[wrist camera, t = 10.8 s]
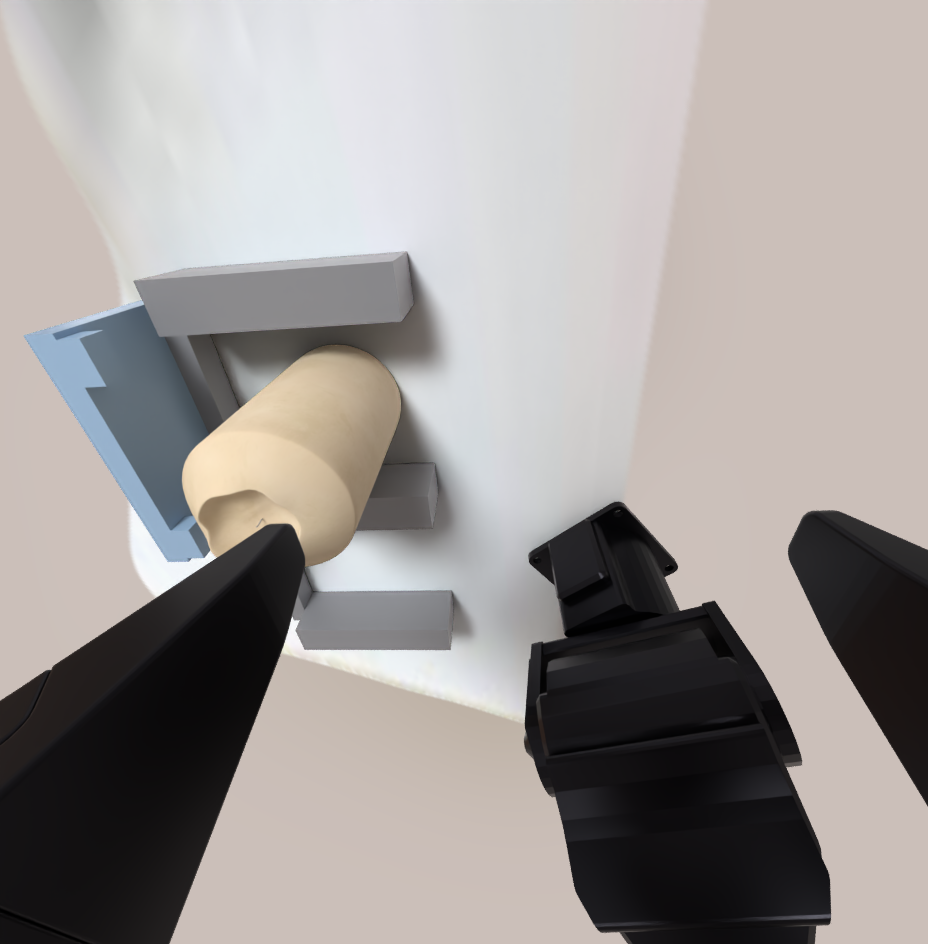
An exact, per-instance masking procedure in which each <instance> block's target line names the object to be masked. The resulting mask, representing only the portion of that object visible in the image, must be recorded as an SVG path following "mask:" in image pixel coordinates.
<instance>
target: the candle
mask: <svg viewBox="0 0 928 944" xmlns="http://www.w3.org/2000/svg"><path fill="white" fill-rule="evenodd" d="M400 414H401V398H400V393H399V390H398V387H397V384H396V382H395V380H394V378H393V377H392V375H391V374H390V372H389V371H388V370H387V368H386V367H385V366H384V365H383V364H382V363H381V362H380V361H379V360H377V359H376V358H375V357H373V356H372V355H370V354H368V353H367V352H365V351H363V350H360V349H358V348H355V347H352V346H347V345H336V344H334V345H326V346H322V347H318V348H316V349H313V350H311V351H309V352H307V353H306V354H304V355H303V356H302V357H300V358H299V359H298V360H296V361H295V362H294V363H293V364H292V365H291V366H289V367H288V368H287V369H286V370H285V371H284V372H282V373H281V374H280V375H279V376H278V377H277V378H275V379H274V380H273V381H272V382H271V383H269V384H268V385H267V386H266V387H265V388H264V389H262V390H261V391H260V392H259V393H258V394H257V395H255V396H254V397H253V398H252V399H251V400H250V401H248V402H247V403H246V404H245V405H244V406H242V407H241V408H240V409H239V410H238V411H237V412H235V413H234V414H233V415H232V416H231V417H230V418H228V419H227V420H226V421H225V422H224V423H223V424H221V425H220V426H219V427H218V428H217V429H216V430H214V431H213V432H212V433H211V434H210V435H208V436H207V437H206V438H205V439H204V440H203V441H201V442H200V443H199V444H198V445H197V446H196V447H195V448H194V449H193V450H192V451H191V453H190V454H189V455H188V457H187V459H186V461H185V464H184V468H183V472H182V484H183V491H184V494H185V498H186V501H187V503H188V506H189V508H190V510H191V512H192V514H193V516H194V518H195V520H196V521H197V523H198V525H199V527H200V528H201V530H202V532H203V533H204V535H205V537H206V539H207V541H208V545H209V548H210V550H211V552H212V553H213V554H214V556H216V557H219V556H220V555H222V554H223V553H225V552H226V551H228V550H229V549H231V548H232V547H234V546H236V545H237V544H239V543H240V542H242V541H243V540H245V539H246V538H248V537H249V536H251V535H252V534H254V533H255V532H257V531H258V530H260V529H261V528H263V527H264V526H266V525H268V524H275V523H288V524H291V525H292V526H293V527H294V529H295V531H296V533H297V536H298V539H299V541H300V544H301V546H302V549H303V552H304V554H305V567H307V566H313V565H317V564H321V563H323V562H326V561H328V560H330V559H332V558H334V557H336V556H337V555H338V554H340V553H341V552H342V551H343V550H344V549H345V548H346V547H347V546H348V545H349V543H350V541H351V540H352V538H353V536H354V533H355V531H356V528H357V526H358V523H359V521H360V518H361V516H362V513H363V511H364V508H365V506H366V503H367V501H368V498H369V496H370V493H371V491H372V488H373V486H374V483H375V481H376V478H377V476H378V473H379V471H380V468H381V466H382V463H383V461H384V458H385V456H386V453H387V451H388V448H389V446H390V443H391V441H392V438H393V436H394V433H395V431H396V428H397V425H398V422H399V419H400Z"/></svg>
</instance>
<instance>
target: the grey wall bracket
mask: <svg viewBox="0 0 928 944" xmlns="http://www.w3.org/2000/svg"><path fill="white" fill-rule="evenodd" d="M134 284H135V286H136V288H137V290H138V292H139V294H140V297H141V299H142V300H140V301H137V302H134V303H130V304H127V305H124V306H120V307H117V308H114V309H110V310H107V311H104V312H100V313H97V314H94V315H90V316H87V317H84V318H80V319H77V320H74V321H70V322H67V323H64V324H60V325H57V326H54V327H50V328H47V329H44V330H40V331H37V332H34V333H30V334H27V335H24V337H25V339H26V340H27V342H28V344H29V345H30V347H31V348H32V350H33V351H34V353H35V355H36V356H37V358H38V359H39V361H40V362H41V364H42V365H43V367H44V369H45V370H46V372H47V373H48V375H49V376H50V378H51V380H52V381H53V383H54V384H55V386H56V387H57V389H58V391H59V392H60V394H61V395H62V397H63V398H64V400H65V401H66V403H67V405H68V406H69V408H70V409H71V411H72V412H73V414H74V416H75V417H76V419H77V420H78V422H79V423H80V425H81V427H82V428H83V430H84V431H85V433H86V434H87V436H88V438H89V439H90V441H91V442H92V444H93V445H94V447H95V448H96V450H97V452H98V453H99V455H100V456H101V458H102V459H103V461H104V463H105V464H106V466H107V467H108V469H109V470H110V472H111V473H112V475H113V477H114V478H115V480H116V481H117V483H118V484H119V486H120V488H121V489H122V491H123V492H124V494H125V496H126V497H127V499H128V500H129V502H130V503H131V505H132V506H133V508H134V510H135V511H136V513H137V514H138V516H139V517H140V519H141V521H142V522H143V524H144V525H145V527H146V528H147V530H148V531H149V533H150V535H151V536H152V538H153V539H154V541H155V542H156V544H157V546H158V547H159V549H160V550H161V552H162V553H163V555H164V557H165V558H166V560H167V561H168V562H189V561H190V560H191V558H204V557H205V556H206V555H207V554H208V552H209V551H210V548H209V545H208V541H207V539H206V537H205V535H204V533H203V532H202V530H201V528H200V527H199V525H198V523H197V521H196V520H195V518H194V516H193V514H192V512H191V510H190V508H189V506H188V503H187V501H186V498H185V494H184V491H183V484H182V472H183V468H184V464H185V461H186V459H187V457H188V455H189V454H190V453H191V451H192V450H193V449H194V448H195V447H196V446H197V445H198V444H199V443H200V442H201V441H203V440H204V439H205V438H206V437H207V436H208V435H210V434H211V433H212V432H213V431H214V430H216V429H217V428H218V427H219V426H220V425H221V424H223V423H224V422H225V421H226V420H227V419H228V418H230V417H231V416H232V415H233V414H234V413H235V412H237V411H238V410H239V409H240V408H239V406H238V403H237V401H236V398H235V396H234V393H233V391H232V388H231V386H230V383H229V381H228V378H227V376H226V373H225V371H224V368H223V366H222V363H221V361H220V358H219V356H218V353H217V351H216V348H215V346H214V343H213V341H212V338H211V336H210V334H216V333H232V332H247V331H263V330H279V329H295V328H310V327H326V326H342V325H358V324H374V323H389V322H402V320H403V319H404V318H405V316H406V315H407V313H408V312H409V310H410V309H411V307H412V306H413V305H414V302H413V294H412V286H411V279H410V271H409V263H408V256H407V252H395V253H382V254H369V255H356V256H343V257H330V258H317V259H304V260H291V261H278V262H265V263H252V264H239V265H227V266H214V267H201V268H188V269H181V270H177V271H173V272H168V273H164V274H160V275H156V276H152V277H147V278H143V279H139V280H135V281H134ZM438 494H439V492H438V485H437V477H436V470H435V463H413V464H385V465H382V466H381V468H380V471H379V473H378V476H377V478H376V481H375V483H374V486H373V488H372V491H371V493H370V496H369V498H368V501H367V503H366V506H365V508H364V511H363V513H362V516H361V518H360V521H359V523H358V526H357V528H356V530H401V529H433V523H434V517H435V511H436V505H437V499H438ZM453 616H454V607H453V599H452V592H451V591H372V592H312V589H311V587H310V584H309V582H308V579H307V577H306V574H305V572H304V573H303V577H302V581H301V584H300V588H299V592H298V596H297V599H296V603H295V607H294V611H293V614H292V617H293V619H294V620H300V621H299V624H298V626H297V628H296V632H297V634H298V637H299V639H300V641H301V643H302V645H303V647H304V649H305V650H451V639H452V627H453Z"/></svg>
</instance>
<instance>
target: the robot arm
mask: <svg viewBox="0 0 928 944" xmlns="http://www.w3.org/2000/svg"><path fill="white" fill-rule="evenodd" d="M616 510H620V511H619V512H615V511H616ZM528 556H529V563H530V564H531V565H532V566H533V567H534V568H535V569H536V570H538V571H539V572H540V573H541V574H542V575H543V576H545V577H546V578H547V579H548V580H549V581H550V582H551V583H553V584H554V585H555V588H556V594H557V598H558V600H559V606H560V612H561V617H562V623H563V629H564V634H565V636H566V638H563V639H559V640H555V641H551V642H547V643H543V642H538V643H534V644H532V646H531V659H529V670H528V685H527V699H526V713H525V730H526V733H525V737H524V745H525V749H526V752H527V753H528V754H529V755H530V756H531V757H532V758H533V759H534V761H535V765H536V768H537V771H538V774H539V777H540V780H541V782H542V784H543V786H544V788H545V790H546V792H547V793H548V794H549V795H550V796H551V797H556V801H557V804H558V808H559V812H560V816H561V820H562V824H563V829H564V834H565V839H566V844H567V849H568V855H569V861H570V866H571V872H572V877H573V883H574V887H575V891H576V893H577V895H578V897H579V899H580V901H581V902H582V904H583V906H584V908H585V909H586V911H587V913H588V915H589V917H590V918H591V920H592V922H593V924H594V925H595V927H596V928H597V929H598V930H599V931H600V932H602V933H607V932H608V933H609V932H620V933H621V934H622V936H623V938H624V939H625V940H626V942H627V943H628V944H815V934H816V926H817V925H818V926H819V925H829V924H830V921H831V897H830V878H829V873H828V870H827V868H826V866H825V864H824V862H823V860H822V856H821V848H820V845H819V842H818V839H817V837H816V835H815V832H814V830H813V828H812V826H811V823H810V821H809V819H808V816H807V814H806V812H805V809H804V807H803V805H802V803H801V800H800V798H799V796H798V794H797V791H796V789H795V787H794V784H793V782H792V780H791V778H790V775H789V773H788V771H787V768H786V767H792V766H800V765H802V758H801V754H800V751H799V748H798V745H797V742H796V739H795V737H794V734H793V732H792V729H791V727H790V725H789V722H788V720H787V718H786V715H785V714H784V711H783V709H782V707H781V705H780V703H779V701H778V699H777V697H776V695H775V693H774V691H773V689H772V687H771V686H770V684H769V682H768V680H767V679H766V677H765V675H764V673H763V672H762V670H761V668H760V667H759V665H758V664H757V662H756V661H755V659H754V658H753V656H752V655H751V653H750V652H749V650H748V649H747V648H746V646H745V644H744V643H743V642H742V640H741V639H740V637H739V636H738V634H737V633H736V631H735V630H734V628H733V627H732V625H731V624H730V622H729V621H728V620H727V618H726V617H725V615H724V614H723V612H722V611H721V609H720V608H719V606H718V605H717V603H716V602H715V601H712V602H707V603H703V604H702V606H699V607H695V608H691V609H687V610H682V611H680V610H679V608H678V606H677V604H676V601H675V599H674V597H673V595H672V593H671V591H670V589H669V586H668V584H667V582H666V580H665V577H666V576H668V575H670V574H672V573H674V572H675V571H676V570H677V569H678V565H677V563H676V561H675V559H674V558H673V557H672V556H671V555H670V554H669V553H668V552H667V551H666V549H665V548H664V547H663V546H662V545H661V544H660V543H659V542H658V541H657V540H656V538H655V537H654V536H653V535H652V534H651V533H650V532H649V531H648V530H647V528H645V526H644V525H643V524H642V523H641V522H640V521H639V520H638V519H637V517H636V516H635V515H634V514H633V513H632V512H631V511H630V510H629V509H628V508H627V506H626V505H625V504H624V503H622V502H614V503H611V504H610V505H608V506H606V507H605V508H603V509H601V510H600V511H598V512H596V513H595V514H593V515H591V516H590V517H588V518H586V519H585V520H583V521H581V522H580V523H578V524H576V525H574V526H573V527H571V528H569V529H568V530H566V531H564V532H563V533H561V534H559V535H558V536H556V537H554V538H553V539H551V540H549V541H548V542H546V543H544V544H543V545H541V546H539V547H538V548H536V549H534V550H533V551H531V552H530V553H529V555H528ZM788 556H789V560H790V563H791V565H792V567H793V569H794V571H795V573H796V575H797V577H798V580H799V581H800V584H801V586H802V588H803V590H804V592H805V594H806V596H807V598H808V600H809V602H810V605H811V607H812V609H813V611H814V613H815V615H816V617H817V619H818V621H819V623H820V625H821V628H822V630H823V632H824V634H825V636H826V637H827V640H828V641H829V644H830V645H831V647H832V649H833V650H834V652H835V654H836V656H837V657H838V659H839V661H840V662H841V664H842V666H843V667H844V669H845V671H846V672H847V674H848V676H849V677H850V679H851V681H852V682H853V684H854V686H855V687H856V689H857V690H858V692H859V694H860V695H861V697H862V699H863V700H864V702H865V704H866V705H867V707H868V709H869V710H870V712H871V714H872V715H873V717H874V718H875V720H876V722H877V723H878V725H879V727H880V728H881V730H882V732H883V733H884V735H885V736H886V738H887V740H888V742H889V743H890V745H891V747H892V748H893V750H894V751H895V753H896V755H897V756H898V758H899V759H900V761H901V763H902V765H903V766H904V768H905V769H906V771H907V773H908V774H909V776H910V778H911V779H912V781H913V783H914V784H915V786H916V788H917V789H918V791H919V793H920V794H921V796H922V797H923V799H924V801H925V802H926V804H927V806H928V550H927V549H924V548H922V547H920V546H917V545H915V544H913V543H911V542H908V541H906V540H904V539H902V538H899V537H897V536H895V535H892V534H890V533H888V532H886V531H883V530H881V529H879V528H876V527H874V526H872V525H869V524H867V523H865V522H863V521H860V520H858V519H856V518H853V517H851V516H849V515H847V514H844V513H842V512H839V511H833V510H831V511H830V510H828V511H811V512H808V513H806V514H805V515H804V516H803V518H802V519H801V521H800V524H799V526H798V528H797V530H796V532H795V534H794V536H793V538H792V540H791V543H790V544H789V548H788ZM535 558H538V559H535ZM668 565H669V566H668ZM304 569H305V554H304V552H303V549H302V546H301V544H300V541H299V539H298V536H297V533H296V531H295V529H294V527H293V526H292V525H291V524H288V523H275V524H268V525H266V526H264V527H263V528H261V529H260V530H258V531H257V532H255V533H254V534H252V535H251V536H249V537H248V538H246V539H245V540H243V541H242V542H240V543H239V544H237V545H236V546H234V547H232V548H231V549H229V550H228V551H226V552H225V553H223V554H222V555H220V556H219V557H217V558H216V559H214V560H213V561H211V562H210V563H208V564H207V565H205V566H204V567H202V568H201V569H199V570H198V571H196V572H195V573H193V574H192V575H190V576H189V577H187V578H186V579H184V580H183V581H181V582H180V583H178V584H176V585H175V586H173V587H172V588H170V589H169V590H167V591H166V592H164V593H163V594H161V595H160V596H158V597H157V598H155V599H154V600H152V601H151V602H149V603H148V604H146V605H145V606H143V607H142V608H140V609H139V610H137V611H136V612H134V613H133V614H131V615H130V616H128V617H127V618H125V619H123V620H122V621H120V622H119V623H117V624H116V625H115V626H113V627H111V628H110V629H108V630H107V631H106V632H104V633H102V634H101V635H99V636H98V637H96V638H95V639H93V640H92V641H90V642H89V643H87V644H86V645H84V646H83V647H81V648H80V649H78V650H77V651H75V652H74V653H72V654H71V655H69V656H68V657H66V658H65V659H63V660H61V661H60V662H58V663H57V664H55V665H54V666H53V667H52V670H46V671H45V672H43V673H42V674H40V675H39V676H37V677H36V678H34V679H33V680H31V681H30V682H28V683H27V684H25V685H24V686H22V687H21V688H19V689H18V690H16V691H15V692H13V693H12V694H10V695H8V696H7V697H5V698H4V699H2V700H1V701H0V944H169V943H170V941H171V938H172V936H173V933H174V930H175V928H176V925H177V923H178V920H179V917H180V914H181V912H182V910H183V907H184V904H185V901H186V899H187V897H188V894H189V891H190V889H191V886H192V884H193V881H194V878H195V876H196V873H197V870H198V868H199V865H200V862H201V860H202V857H203V855H204V852H205V850H206V847H207V844H208V842H209V839H210V837H211V834H212V831H213V829H214V826H215V824H216V821H217V818H218V816H219V813H220V810H221V808H222V805H223V803H224V800H225V797H226V795H227V792H228V790H229V787H230V784H231V782H232V779H233V777H234V774H235V772H236V769H237V766H238V764H239V761H240V758H241V756H242V753H243V751H244V748H245V745H246V742H247V740H248V738H249V735H250V732H251V730H252V727H253V725H254V722H255V719H256V717H257V714H258V711H259V709H260V706H261V704H262V701H263V699H264V696H265V693H266V691H267V688H268V685H269V683H270V680H271V677H272V675H273V673H274V670H275V667H276V665H277V662H278V659H279V657H280V654H281V651H282V649H283V646H284V643H285V640H286V636H287V633H288V630H289V626H290V622H291V618H292V614H293V611H294V607H295V603H296V599H297V596H298V592H299V588H300V584H301V581H302V577H303V573H304Z"/></svg>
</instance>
